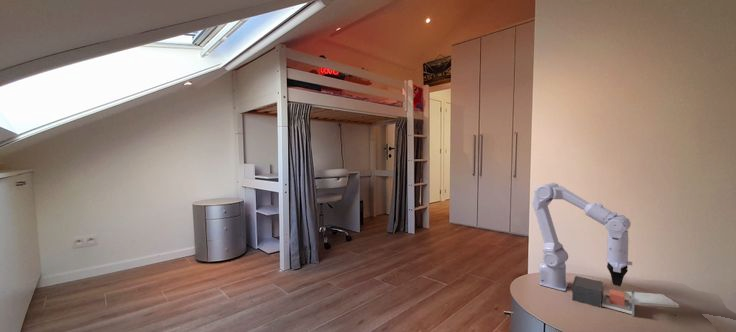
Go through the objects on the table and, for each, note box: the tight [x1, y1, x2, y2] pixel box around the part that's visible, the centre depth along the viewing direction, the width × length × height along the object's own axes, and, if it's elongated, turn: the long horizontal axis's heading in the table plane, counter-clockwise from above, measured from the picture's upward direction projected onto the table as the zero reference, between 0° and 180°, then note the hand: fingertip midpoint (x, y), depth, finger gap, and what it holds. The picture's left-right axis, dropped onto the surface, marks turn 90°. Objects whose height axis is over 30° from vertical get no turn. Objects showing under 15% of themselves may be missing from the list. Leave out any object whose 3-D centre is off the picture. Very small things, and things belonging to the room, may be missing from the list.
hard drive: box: [624, 291, 680, 308], centre depth 108 cm, size 2×8×12 cm
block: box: [609, 289, 626, 307], centre depth 105 cm, size 4×4×4 cm
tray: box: [601, 288, 636, 316], centre depth 105 cm, size 9×9×6 cm
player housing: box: [571, 275, 604, 308], centre depth 111 cm, size 9×9×6 cm
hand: (616, 284), depth 105 cm, fingers closed
